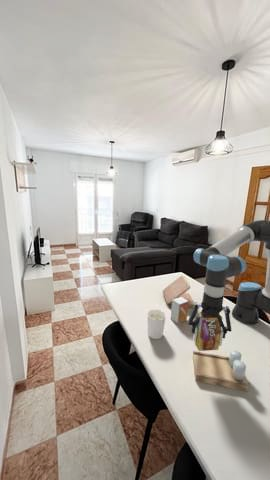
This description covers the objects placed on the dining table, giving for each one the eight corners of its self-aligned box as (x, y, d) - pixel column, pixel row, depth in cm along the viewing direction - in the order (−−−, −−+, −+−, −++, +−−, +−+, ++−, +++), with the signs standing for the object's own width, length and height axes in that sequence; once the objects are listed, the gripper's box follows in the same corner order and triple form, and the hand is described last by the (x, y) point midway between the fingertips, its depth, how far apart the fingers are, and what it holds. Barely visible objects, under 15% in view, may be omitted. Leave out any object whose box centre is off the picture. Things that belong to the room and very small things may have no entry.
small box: (177, 324, 117) (179, 304, 114) (170, 318, 122) (171, 299, 119) (187, 320, 121) (189, 300, 118) (179, 314, 126) (181, 296, 124)
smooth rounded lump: (241, 372, 82) (243, 360, 81) (246, 382, 78) (247, 369, 77) (230, 371, 83) (232, 359, 82) (234, 381, 78) (236, 368, 77)
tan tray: (237, 364, 89) (238, 359, 89) (247, 391, 77) (249, 385, 76) (192, 356, 93) (193, 351, 92) (195, 381, 81) (196, 374, 80)
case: (161, 293, 154) (163, 274, 151) (187, 293, 155) (189, 275, 152) (166, 308, 134) (168, 286, 131) (196, 308, 135) (199, 287, 132)
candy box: (213, 342, 86) (218, 311, 83) (218, 350, 82) (223, 318, 79) (194, 343, 85) (198, 312, 82) (198, 351, 81) (202, 318, 78)
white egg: (237, 362, 88) (239, 350, 87) (240, 370, 84) (242, 358, 82) (227, 360, 89) (229, 348, 87) (229, 368, 84) (231, 356, 83)
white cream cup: (149, 341, 102) (151, 321, 99) (144, 329, 111) (145, 310, 108) (167, 338, 104) (168, 318, 102) (160, 327, 114) (161, 308, 111)
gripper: (240, 292, 80) (232, 340, 85) (184, 286, 84) (180, 331, 89) (246, 301, 73) (237, 353, 77) (185, 294, 77) (180, 343, 81)
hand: (206, 341), depth 83 cm, fingers closed on candy box, 9 cm apart
